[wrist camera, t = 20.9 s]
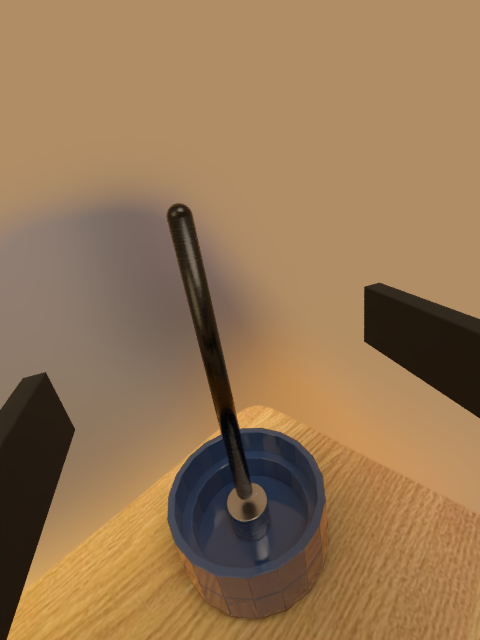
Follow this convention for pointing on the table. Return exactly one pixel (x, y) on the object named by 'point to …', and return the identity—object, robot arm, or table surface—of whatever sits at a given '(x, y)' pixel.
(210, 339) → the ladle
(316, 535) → the bowl
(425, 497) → the table surface
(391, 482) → the table surface
